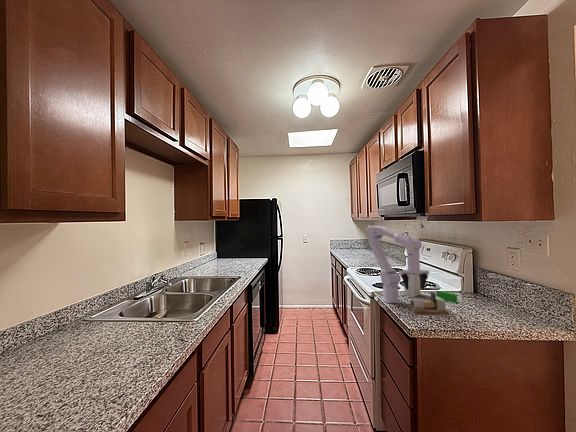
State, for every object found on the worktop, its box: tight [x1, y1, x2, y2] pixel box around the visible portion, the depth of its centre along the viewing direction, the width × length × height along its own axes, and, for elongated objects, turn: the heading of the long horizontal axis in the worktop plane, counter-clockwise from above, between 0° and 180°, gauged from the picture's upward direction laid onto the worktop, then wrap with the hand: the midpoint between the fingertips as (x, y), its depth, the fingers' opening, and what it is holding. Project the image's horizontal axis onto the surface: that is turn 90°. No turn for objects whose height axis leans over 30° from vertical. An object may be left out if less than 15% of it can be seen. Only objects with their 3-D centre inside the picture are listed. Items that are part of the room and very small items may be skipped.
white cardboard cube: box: [410, 298, 425, 309], centre depth 138 cm, size 4×5×4 cm
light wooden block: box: [423, 291, 437, 307], centre depth 138 cm, size 3×8×7 cm, turn 88°
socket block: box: [435, 296, 446, 310], centre depth 138 cm, size 7×4×5 cm, turn 178°
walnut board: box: [406, 303, 449, 315], centre depth 138 cm, size 12×15×1 cm
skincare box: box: [403, 268, 421, 298], centre depth 166 cm, size 8×7×16 cm
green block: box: [436, 290, 458, 304], centre depth 153 cm, size 11×4×5 cm, turn 27°
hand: (414, 288), depth 141 cm, fingers open, 7 cm apart
